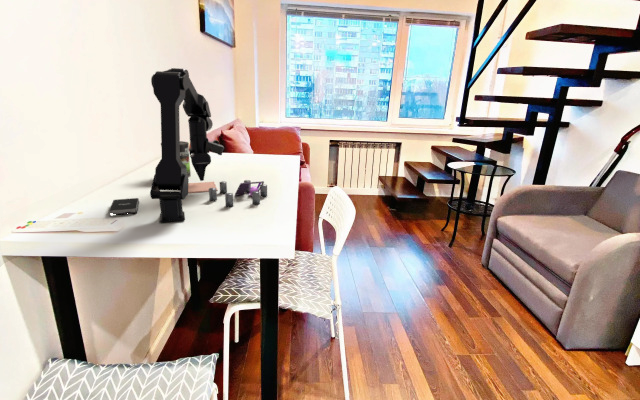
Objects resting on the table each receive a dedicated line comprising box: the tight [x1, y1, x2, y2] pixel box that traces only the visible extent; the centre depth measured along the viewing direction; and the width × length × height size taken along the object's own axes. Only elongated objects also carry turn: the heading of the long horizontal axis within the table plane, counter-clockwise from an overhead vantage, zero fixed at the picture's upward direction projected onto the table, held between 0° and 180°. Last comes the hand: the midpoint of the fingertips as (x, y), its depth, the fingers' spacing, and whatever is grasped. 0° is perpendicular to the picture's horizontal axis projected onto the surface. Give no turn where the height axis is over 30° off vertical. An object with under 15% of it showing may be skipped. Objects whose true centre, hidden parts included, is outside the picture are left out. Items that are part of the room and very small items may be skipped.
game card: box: [234, 180, 265, 197], centre depth 121 cm, size 7×5×9 cm
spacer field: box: [208, 179, 268, 208], centre depth 118 cm, size 17×19×4 cm
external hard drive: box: [108, 197, 140, 216], centre depth 104 cm, size 7×11×2 cm, turn 23°
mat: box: [188, 181, 218, 194], centre depth 128 cm, size 12×10×1 cm
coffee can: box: [180, 140, 192, 179], centre depth 140 cm, size 10×10×14 cm
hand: (201, 177), depth 127 cm, fingers open, 9 cm apart
